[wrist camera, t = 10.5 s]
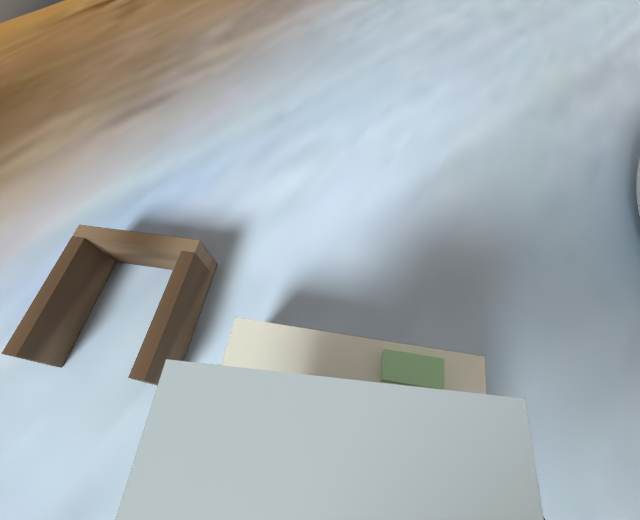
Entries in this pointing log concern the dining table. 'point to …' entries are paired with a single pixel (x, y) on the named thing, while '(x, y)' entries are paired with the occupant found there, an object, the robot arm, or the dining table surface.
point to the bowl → (638, 187)
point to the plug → (327, 450)
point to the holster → (87, 282)
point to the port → (350, 357)
